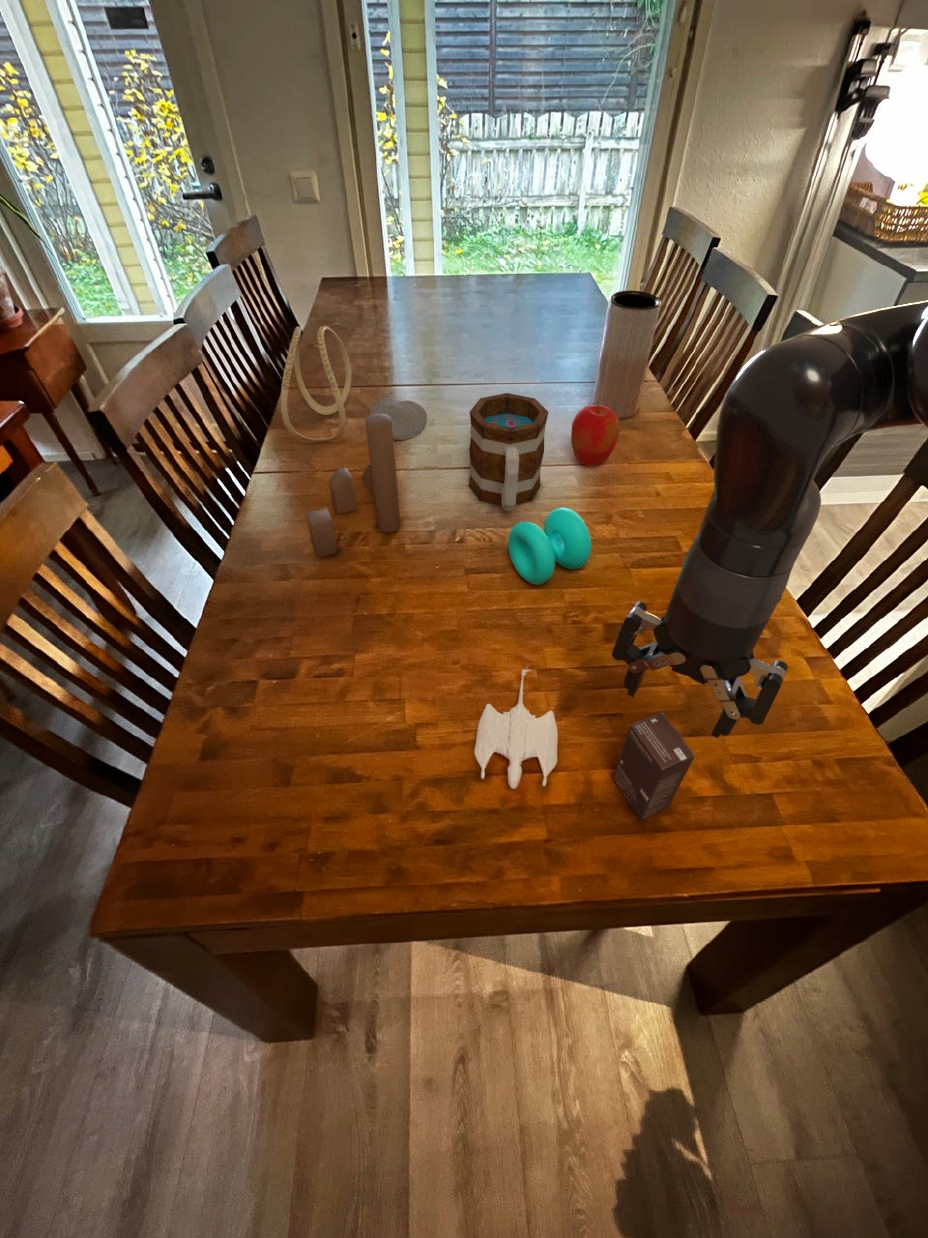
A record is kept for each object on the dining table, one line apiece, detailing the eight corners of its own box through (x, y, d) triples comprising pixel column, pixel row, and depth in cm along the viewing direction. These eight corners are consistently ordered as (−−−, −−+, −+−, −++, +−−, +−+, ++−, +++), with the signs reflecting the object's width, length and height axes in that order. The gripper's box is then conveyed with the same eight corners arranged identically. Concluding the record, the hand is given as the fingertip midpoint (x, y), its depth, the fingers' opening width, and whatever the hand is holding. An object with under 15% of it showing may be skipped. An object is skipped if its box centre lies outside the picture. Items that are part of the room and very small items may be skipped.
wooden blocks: (379, 474, 120) (368, 372, 105) (414, 533, 107) (408, 427, 93) (291, 494, 115) (267, 390, 101) (317, 558, 103) (294, 450, 88)
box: (609, 780, 75) (629, 722, 66) (640, 767, 76) (664, 709, 67) (637, 824, 71) (662, 769, 62) (670, 810, 72) (699, 754, 64)
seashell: (377, 414, 136) (361, 431, 128) (380, 389, 132) (363, 404, 124) (428, 429, 135) (415, 447, 127) (432, 404, 132) (419, 420, 124)
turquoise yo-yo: (589, 577, 100) (600, 527, 93) (538, 599, 96) (545, 549, 89) (552, 542, 106) (559, 493, 99) (503, 562, 102) (506, 512, 95)
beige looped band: (350, 453, 125) (336, 353, 110) (290, 456, 124) (268, 355, 110) (355, 402, 140) (343, 307, 125) (301, 403, 139) (283, 309, 124)
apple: (590, 480, 119) (600, 422, 110) (556, 460, 124) (564, 403, 115) (622, 463, 123) (635, 406, 114) (589, 444, 128) (598, 388, 119)
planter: (584, 399, 141) (601, 291, 125) (625, 395, 143) (647, 288, 126) (601, 421, 134) (621, 310, 118) (644, 416, 136) (670, 306, 120)
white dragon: (484, 676, 86) (485, 657, 83) (559, 684, 85) (563, 665, 82) (468, 796, 73) (468, 778, 70) (555, 806, 72) (559, 789, 69)
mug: (468, 465, 122) (469, 392, 111) (537, 466, 122) (544, 392, 111) (469, 528, 108) (470, 452, 98) (547, 528, 108) (556, 452, 98)
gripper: (623, 582, 50) (591, 703, 62) (809, 658, 45) (735, 774, 56) (658, 534, 54) (622, 655, 66) (830, 598, 49) (758, 717, 61)
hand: (674, 710), depth 61 cm, fingers open, 8 cm apart
